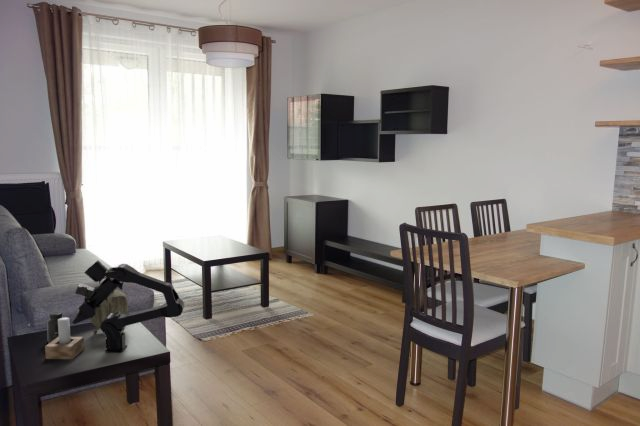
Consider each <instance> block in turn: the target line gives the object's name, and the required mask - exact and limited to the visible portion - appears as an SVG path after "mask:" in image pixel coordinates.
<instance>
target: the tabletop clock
mask: <svg viewBox="0 0 640 426" xmlns="http://www.w3.org/2000/svg"><path fill="white" fill-rule="evenodd" d="M106 278H107V277H106V276H105V277H104V278H103V279H102V280H103V281H104V280H105V279H106ZM102 280H101V281H100V282H99V281H98V283H99V285H100V284H101V283H102V282H103V281H102ZM127 297H128V296H127V295H126V293H124V292H122V290H120V289H116V290H115V291H114V292H113V293H112V294H111V295H110V296H109V297H108V299H107V300H105V301H104V302H103V303H102V304H101V305H100V307H99V308H98V307H96V308H97V312H96V314H95V315H94V316H93V317H92V318H89V321H90V323H91V324H92V325H93V326H95V327H96V328H95V329H94V330H93V334H97V333H98V330H99V329H101V327H100V326H101V323H102V322H103V321H104V319H105V318H106V317H107V316H108V315H109V314H110V313H116V312H118V311H120V312H121V314H124V315H126V314H129V304H128V298H127Z"/></svg>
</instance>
